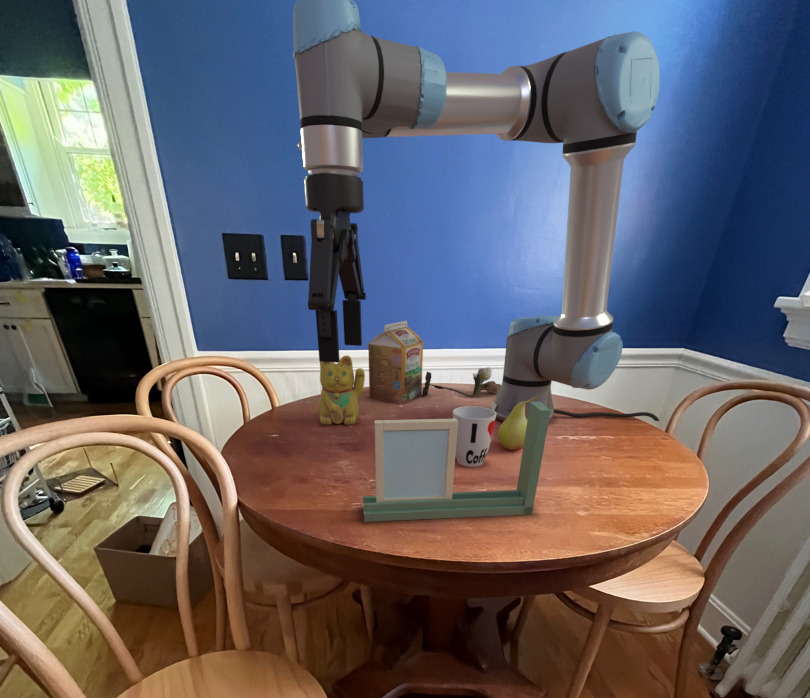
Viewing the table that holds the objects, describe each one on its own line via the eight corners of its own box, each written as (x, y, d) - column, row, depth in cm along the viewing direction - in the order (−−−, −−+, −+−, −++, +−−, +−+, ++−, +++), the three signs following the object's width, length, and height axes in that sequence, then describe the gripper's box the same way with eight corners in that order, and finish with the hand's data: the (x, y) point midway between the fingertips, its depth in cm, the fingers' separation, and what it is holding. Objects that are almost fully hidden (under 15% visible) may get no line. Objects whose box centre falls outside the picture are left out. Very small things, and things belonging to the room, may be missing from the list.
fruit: (508, 440, 106) (516, 385, 99) (537, 450, 101) (547, 392, 95) (490, 448, 102) (496, 391, 95) (520, 458, 97) (529, 399, 91)
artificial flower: (420, 395, 140) (425, 359, 137) (495, 406, 141) (502, 370, 138) (421, 395, 132) (427, 356, 129) (501, 406, 133) (508, 368, 130)
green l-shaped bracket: (523, 502, 81) (539, 401, 72) (532, 514, 77) (550, 410, 68) (363, 508, 78) (359, 404, 69) (364, 522, 74) (360, 414, 65)
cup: (464, 472, 90) (468, 421, 85) (441, 458, 97) (444, 408, 91) (498, 465, 94) (505, 415, 88) (475, 451, 100) (479, 403, 94)
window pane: (450, 499, 77) (456, 418, 70) (451, 503, 76) (458, 421, 69) (376, 502, 76) (374, 420, 69) (376, 506, 75) (375, 422, 68)
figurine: (317, 425, 112) (311, 358, 104) (321, 414, 119) (316, 351, 111) (365, 425, 113) (363, 359, 105) (366, 414, 120) (364, 351, 112)
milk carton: (401, 403, 128) (402, 327, 118) (369, 397, 133) (367, 323, 123) (421, 395, 136) (423, 322, 126) (390, 389, 141) (390, 318, 130)
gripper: (333, 184, 72) (340, 338, 83) (266, 161, 51) (288, 368, 63) (382, 185, 71) (382, 340, 82) (334, 160, 50) (344, 372, 62)
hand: (342, 352), depth 72 cm, fingers open, 12 cm apart
